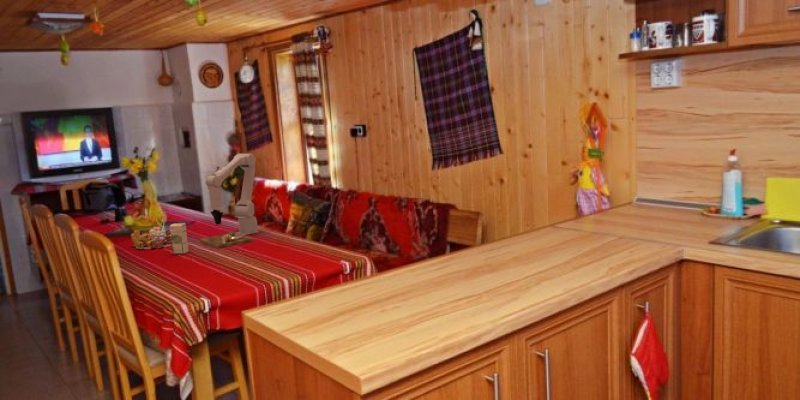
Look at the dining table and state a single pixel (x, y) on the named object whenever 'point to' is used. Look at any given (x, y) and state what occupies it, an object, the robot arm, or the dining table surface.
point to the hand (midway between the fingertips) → (218, 224)
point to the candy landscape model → (152, 239)
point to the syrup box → (179, 238)
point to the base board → (217, 243)
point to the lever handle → (234, 237)
